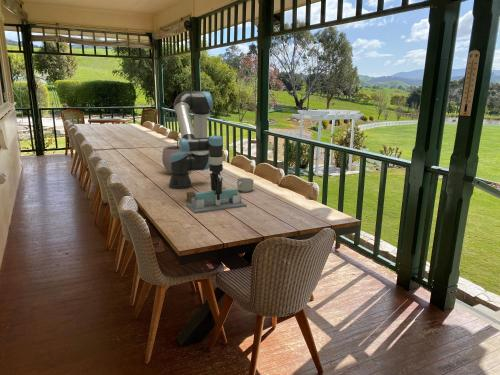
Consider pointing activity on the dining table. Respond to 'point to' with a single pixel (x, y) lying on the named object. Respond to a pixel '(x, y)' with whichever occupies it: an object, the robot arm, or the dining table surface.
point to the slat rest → (192, 195)
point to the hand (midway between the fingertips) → (216, 204)
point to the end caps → (200, 203)
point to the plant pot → (167, 155)
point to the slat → (211, 195)
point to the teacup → (245, 184)
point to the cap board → (216, 206)
